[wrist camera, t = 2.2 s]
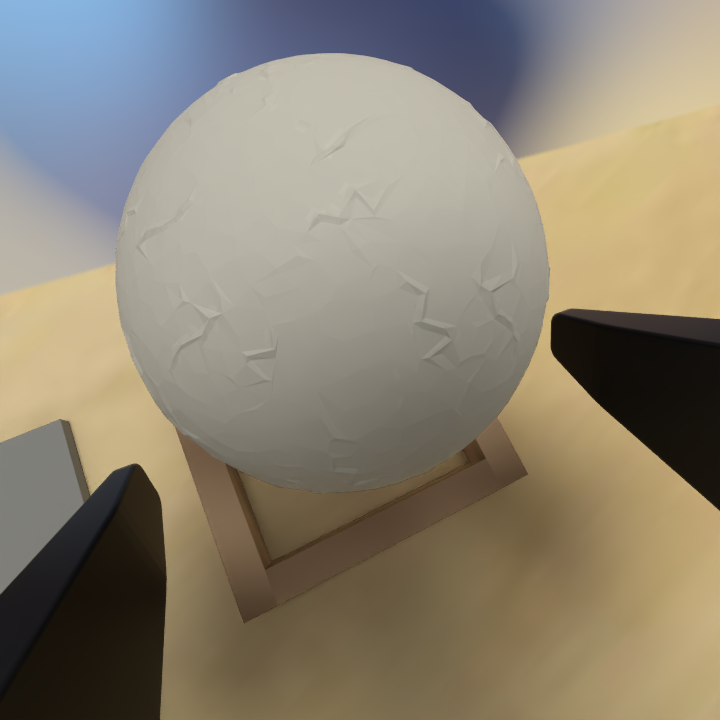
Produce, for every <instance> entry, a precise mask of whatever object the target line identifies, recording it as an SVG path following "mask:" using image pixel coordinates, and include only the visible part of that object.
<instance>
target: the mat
mask: <svg viewBox="0 0 720 720" xmlns="http://www.w3.org/2000/svg"><path fill="white" fill-rule="evenodd" d="M89 497H90V495H89V491H88V488H87V484H86V481H85V477H84V474H83V470H82V467H81V463H80V460H79V456H78V453H77V449H76V446H75V442H74V439H73V435H72V432H71V428H70V425H69V422H68V421H65V420H61V419H59V420H57V421H54V422H52V423H49V424H47V425H44V426H42V427H39V428H36V429H34V430H31V431H29V432H26V433H24V434H21V435H19V436H16V437H14V438H11V439H9V440H6V441H4V442H1V443H0V594H1V593H2V592H3V591H4V590H5V588H6V587H7V586H8V585H9V584H10V583H11V582H12V581H13V580H14V579H15V578H16V576H17V575H18V574H19V573H20V572H21V571H22V570H23V569H24V568H25V567H26V566H27V564H28V563H29V562H30V561H31V560H32V559H33V558H34V557H35V556H36V555H37V554H38V553H39V551H40V550H41V549H42V548H43V547H44V546H45V545H46V544H47V543H48V542H49V541H50V539H51V538H52V537H53V536H54V535H55V534H56V533H57V532H58V531H59V530H60V529H61V527H62V526H63V525H64V524H65V523H66V522H67V521H68V520H69V519H70V518H71V517H72V516H73V514H74V513H75V512H76V511H77V510H78V509H79V508H80V507H81V506H82V505H83V504H84V502H85V501H86V500H87V499H88V498H89Z"/></svg>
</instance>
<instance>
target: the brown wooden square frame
mask: <svg viewBox="0 0 720 720" xmlns="http://www.w3.org/2000/svg"><path fill="white" fill-rule="evenodd" d="M175 428H176V427H175ZM176 431H177V434H178V437H179V439H180V442H181V445H182V448H183V451H184V454H185V457H186V459H187V462H188V465H189V468H190V471H191V474H192V476H193V479H194V482H195V485H196V488H197V491H198V494H199V496H200V499H201V502H202V505H203V508H204V511H205V514H206V516H207V519H208V522H209V525H210V528H211V531H212V534H213V536H214V539H215V542H216V545H217V548H218V551H219V554H220V556H221V559H222V562H223V565H224V568H225V571H226V574H227V576H228V579H229V582H230V585H231V588H232V591H233V594H234V596H235V599H236V602H237V605H238V608H239V611H240V614H241V616H242V619H243V622H244V623H245V622H247V621H249V620H251V619H253V618H255V617H257V616H259V615H261V614H263V613H264V612H266V611H268V610H270V609H272V608H274V607H276V606H278V605H280V604H282V603H283V602H285V601H287V600H289V599H291V598H293V597H295V596H297V595H299V594H301V593H303V592H304V591H306V590H308V589H310V588H312V587H314V586H316V585H318V584H320V583H322V582H324V581H325V580H327V579H329V578H331V577H333V576H335V575H337V574H339V573H341V572H343V571H344V570H346V569H348V568H350V567H352V566H354V565H356V564H358V563H360V562H362V561H364V560H365V559H367V558H369V557H371V556H373V555H375V554H377V553H379V552H381V551H383V550H385V549H386V548H388V547H390V546H392V545H394V544H396V543H398V542H400V541H402V540H404V539H405V538H407V537H409V536H411V535H413V534H415V533H417V532H419V531H421V530H423V529H425V528H426V527H428V526H430V525H432V524H434V523H436V522H438V521H440V520H442V519H444V518H446V517H447V516H449V515H451V514H453V513H455V512H457V511H459V510H461V509H463V508H465V507H466V506H468V505H470V504H472V503H474V502H476V501H478V500H480V499H482V498H484V497H486V496H487V495H489V494H491V493H493V492H495V491H497V490H499V489H501V488H503V487H505V486H507V485H508V484H510V483H512V482H514V481H516V480H518V479H520V478H522V477H524V476H526V475H527V474H528V473H527V471H526V469H525V467H524V466H523V464H522V462H521V460H520V458H519V456H518V455H517V453H516V451H515V449H514V447H513V446H512V444H511V442H510V440H509V438H508V437H507V435H506V433H505V431H504V429H503V428H502V426H501V424H500V422H499V420H498V419H497V417H496V418H495V419H494V420H493V421H492V423H491V424H490V425H489V426H488V427H487V428H486V429H485V430H484V431H483V432H482V433H481V434H480V435H479V436H477V437H476V438H475V439H474V440H473V441H472V442H471V443H470V444H468V445H467V446H466V447H465V448H464V449H463V450H464V452H465V454H466V456H467V458H468V460H469V462H470V463H468V464H466V465H464V466H462V467H460V468H458V469H456V470H454V471H452V472H450V473H448V474H446V475H444V476H442V477H440V478H438V479H436V480H434V481H432V482H430V483H428V484H426V485H424V486H422V487H420V488H418V489H416V490H414V491H412V492H410V493H408V494H406V495H404V496H402V497H400V498H398V499H396V500H394V501H392V502H390V503H388V504H386V505H384V506H382V507H380V508H378V509H376V510H374V511H372V512H370V513H368V514H366V515H364V516H362V517H360V518H358V519H356V520H354V521H352V522H350V523H348V524H346V525H344V526H342V527H340V528H338V529H337V530H335V531H333V532H331V533H329V534H327V535H325V536H323V537H321V538H319V539H317V540H315V541H313V542H311V543H309V544H307V545H305V546H303V547H301V548H299V549H297V550H295V551H293V552H291V553H289V554H287V555H285V556H283V557H281V558H279V559H277V560H275V561H273V562H271V559H270V556H269V554H268V551H267V548H266V546H265V543H264V541H263V538H262V535H261V533H260V530H259V527H258V525H257V522H256V519H255V517H254V514H253V511H252V509H251V506H250V504H249V501H248V498H247V496H246V493H245V490H244V488H243V485H242V482H241V480H240V477H239V474H238V472H237V469H235V468H233V467H231V466H230V465H228V464H226V463H224V462H222V461H220V460H218V459H216V458H214V457H212V456H211V455H210V454H209V453H208V452H207V451H206V450H204V449H203V448H202V447H200V446H199V445H198V444H197V443H195V442H194V441H192V440H191V439H189V438H188V437H186V436H185V435H183V434H182V433H181V432H180V431H179V430H178V429H177V428H176Z"/></svg>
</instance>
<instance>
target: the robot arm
mask: <svg viewBox="0 0 720 720" xmlns="http://www.w3.org/2000/svg"><path fill="white" fill-rule="evenodd" d="M551 351H552V353H553V355H554V357H555V358H556V359H557V360H558V361H559V362H560V364H561V365H562V366H563V367H564V368H565V369H566V370H567V371H568V372H569V373H570V374H571V375H572V376H573V378H574V379H575V380H576V381H577V382H578V383H579V384H580V385H581V386H582V387H583V388H584V389H585V390H586V391H587V393H588V394H589V395H590V396H591V397H592V398H593V399H594V400H595V401H596V402H597V403H598V404H599V405H600V406H601V407H602V408H603V409H605V410H606V411H607V412H608V413H609V414H610V415H611V416H612V417H614V418H615V419H616V420H617V421H618V422H619V423H620V424H622V425H623V426H624V427H625V428H626V429H627V430H628V431H630V432H631V433H632V434H633V435H634V436H635V437H636V438H638V439H639V440H640V441H641V442H642V443H643V444H644V445H645V446H647V447H648V448H649V449H650V450H651V451H652V452H653V453H655V454H656V455H657V456H658V457H659V458H660V459H661V460H663V461H664V462H665V463H666V464H667V465H668V466H669V467H671V468H672V469H673V470H674V471H675V472H676V473H677V474H679V475H680V476H681V477H682V478H683V479H684V480H685V481H686V482H688V483H689V484H690V485H691V486H692V487H693V488H694V489H696V490H697V491H698V492H699V493H700V494H701V495H702V496H704V497H705V498H706V499H707V500H708V501H709V502H710V503H712V504H713V505H714V506H715V507H716V508H717V509H718V510H720V319H711V318H697V317H683V316H669V315H655V314H641V313H627V312H613V311H600V310H586V309H567V310H565V311H562V312H559V313H556V314H555V315H554V316H553V317H552V320H551ZM166 583H167V576H166V559H165V545H164V532H163V519H162V506H161V500H160V497H159V495H158V493H157V491H156V489H155V488H154V486H153V484H152V483H151V481H150V480H149V478H148V476H147V475H146V473H145V471H144V470H143V468H142V467H141V466H140V465H138V464H131V465H128V466H125V467H122V468H120V469H117V470H115V471H113V472H112V473H111V474H110V475H109V476H108V477H107V479H106V480H105V481H104V482H103V483H102V484H101V485H100V486H99V487H98V488H97V489H96V490H95V492H94V493H93V494H92V495H91V496H90V497H89V498H88V499H87V500H86V501H85V502H84V504H83V505H82V506H81V507H80V508H79V509H78V510H77V511H76V512H75V513H74V514H73V516H72V517H71V518H70V519H69V520H68V521H67V522H66V523H65V524H64V525H63V526H62V527H61V529H60V530H59V531H58V532H57V533H56V534H55V535H54V536H53V537H52V538H51V539H50V541H49V542H48V543H47V544H46V545H45V546H44V547H43V548H42V549H41V550H40V551H39V553H38V554H37V555H36V556H35V557H34V558H33V559H32V560H31V561H30V562H29V563H28V564H27V566H26V567H25V568H24V569H23V570H22V571H21V572H20V573H19V574H18V575H17V576H16V578H15V579H14V580H13V581H12V582H11V583H10V584H9V585H8V586H7V587H6V588H5V590H4V591H3V592H2V593H1V594H0V720H160V707H161V687H162V667H163V647H164V627H165V608H166Z"/></svg>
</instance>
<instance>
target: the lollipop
mask: <svg viewBox="0 0 720 720" xmlns="http://www.w3.org/2000/svg"><path fill="white" fill-rule="evenodd" d="M549 277H550V267H549V264H548V255H547V247H546V238H545V233H544V229H543V224H542V220H541V216H540V213H539V209H538V206H537V203H536V200H535V197H534V195H533V192H532V190H531V187H530V185H529V183H528V181H527V179H526V177H525V175H524V173H523V171H522V169H521V167H520V165H519V163H518V161H517V160H516V158H515V157H514V155H513V154H512V152H511V150H510V148H509V147H508V145H507V144H506V143H505V141H504V140H503V139H502V137H501V136H500V135H499V133H498V132H497V131H496V129H495V128H494V127H493V125H492V124H491V123H490V122H488V121H487V120H485V119H484V118H483V117H482V116H481V115H480V114H479V113H478V112H477V111H476V110H475V109H474V108H473V107H472V105H471V104H470V103H469V102H467V101H466V100H464V99H462V98H461V97H459V96H458V95H456V94H455V93H453V92H452V91H451V90H449V89H447V88H445V87H444V86H443V85H441V84H440V83H438V82H436V81H435V80H433V79H431V78H429V77H427V76H425V75H423V74H421V73H419V72H417V71H415V70H413V69H412V68H411V67H407V66H403V65H399V64H396V63H392V62H389V61H386V60H382V59H377V58H372V57H367V56H362V55H353V54H343V53H341V54H340V53H324V54H312V55H311V54H310V55H299V56H294V57H289V58H284V59H279V60H274V61H271V62H268V63H265V64H262V65H259V66H256V67H253V68H251V69H249V70H246V71H244V72H242V73H234V74H233V75H231V76H229V77H227V78H225V79H224V80H222V81H220V82H218V84H217V86H215V87H214V88H213V89H211V90H210V91H208V92H207V93H206V94H204V95H203V96H202V97H200V98H199V99H198V100H196V101H195V102H194V103H193V104H192V105H191V106H189V107H188V108H187V109H186V110H185V111H184V112H183V113H182V114H181V115H180V116H179V117H178V118H177V119H176V120H175V121H173V122H172V123H171V125H170V126H169V127H168V129H167V130H166V131H165V133H164V134H163V135H162V137H161V138H160V139H159V141H158V142H157V143H156V145H155V146H154V147H153V149H152V150H151V152H150V153H149V154H148V156H147V157H146V159H145V161H144V162H143V163H142V165H141V167H140V170H139V172H138V174H137V176H136V178H135V181H134V183H133V186H132V189H131V191H130V193H129V196H128V198H127V202H126V204H125V207H124V211H123V215H122V219H121V224H120V229H119V234H118V240H117V246H116V292H117V301H118V309H119V316H120V322H121V327H122V330H123V333H124V336H125V339H126V341H127V344H128V348H129V351H130V354H131V357H132V360H133V362H134V364H135V366H136V368H137V370H138V372H139V374H140V376H141V378H142V380H143V382H144V384H145V385H146V387H147V389H148V391H149V393H150V394H151V396H152V398H153V399H154V401H155V403H156V404H157V406H158V407H159V409H160V410H161V411H162V413H163V414H164V415H165V416H166V417H167V419H168V420H169V421H170V422H171V423H172V424H173V425H174V426H175V427H176V428H177V429H178V430H179V431H180V432H181V433H182V434H183V435H185V436H186V437H188V438H189V439H191V440H192V441H194V442H195V443H197V444H198V445H199V446H200V447H202V448H203V449H204V450H206V451H207V452H208V453H209V454H210V455H211V456H212V457H214V458H216V459H218V460H220V461H222V462H224V463H226V464H228V465H230V466H231V467H233V468H235V469H237V470H239V471H241V472H243V473H245V474H247V475H250V476H252V477H255V478H257V479H260V480H262V481H264V482H266V483H269V484H272V485H275V486H278V487H285V488H291V489H298V490H306V491H310V492H313V493H340V492H355V491H364V490H372V489H378V488H381V487H385V486H389V485H392V484H396V483H400V482H402V481H404V480H406V479H409V478H411V477H414V476H416V475H419V474H424V473H426V472H427V471H429V470H430V469H432V468H434V467H436V466H438V465H439V464H441V463H443V462H445V461H446V460H448V459H449V458H451V457H452V456H454V455H455V454H457V453H458V452H460V451H461V450H462V449H464V448H465V447H466V446H467V445H468V444H470V443H471V442H472V441H473V440H474V439H475V438H476V437H477V436H479V435H480V434H481V433H482V432H483V431H484V430H485V429H486V428H487V427H488V426H489V425H490V424H491V423H492V421H493V420H494V419H495V418H496V417H497V416H498V415H499V413H500V412H501V411H502V409H503V408H504V407H505V406H506V404H507V403H508V401H509V400H510V398H511V396H512V395H513V393H514V391H515V390H516V388H517V386H518V385H519V383H520V381H521V379H522V377H523V375H524V373H525V371H526V370H527V368H528V366H529V363H530V361H531V358H532V356H533V353H534V351H535V348H536V346H537V343H538V340H539V337H540V333H541V330H542V326H543V318H544V313H545V307H546V303H547V301H548V299H549Z"/></svg>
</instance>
